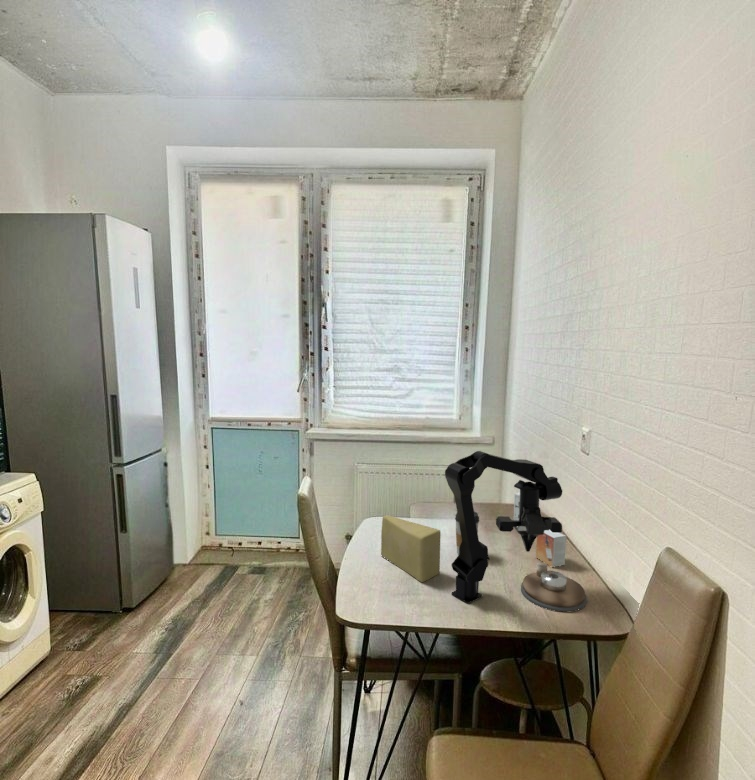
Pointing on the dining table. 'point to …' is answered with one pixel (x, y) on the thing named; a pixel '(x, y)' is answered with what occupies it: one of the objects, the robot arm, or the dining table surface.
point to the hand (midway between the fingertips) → (527, 551)
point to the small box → (551, 548)
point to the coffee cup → (458, 532)
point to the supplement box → (516, 506)
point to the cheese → (411, 547)
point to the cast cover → (553, 581)
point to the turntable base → (550, 605)
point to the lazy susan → (559, 599)
